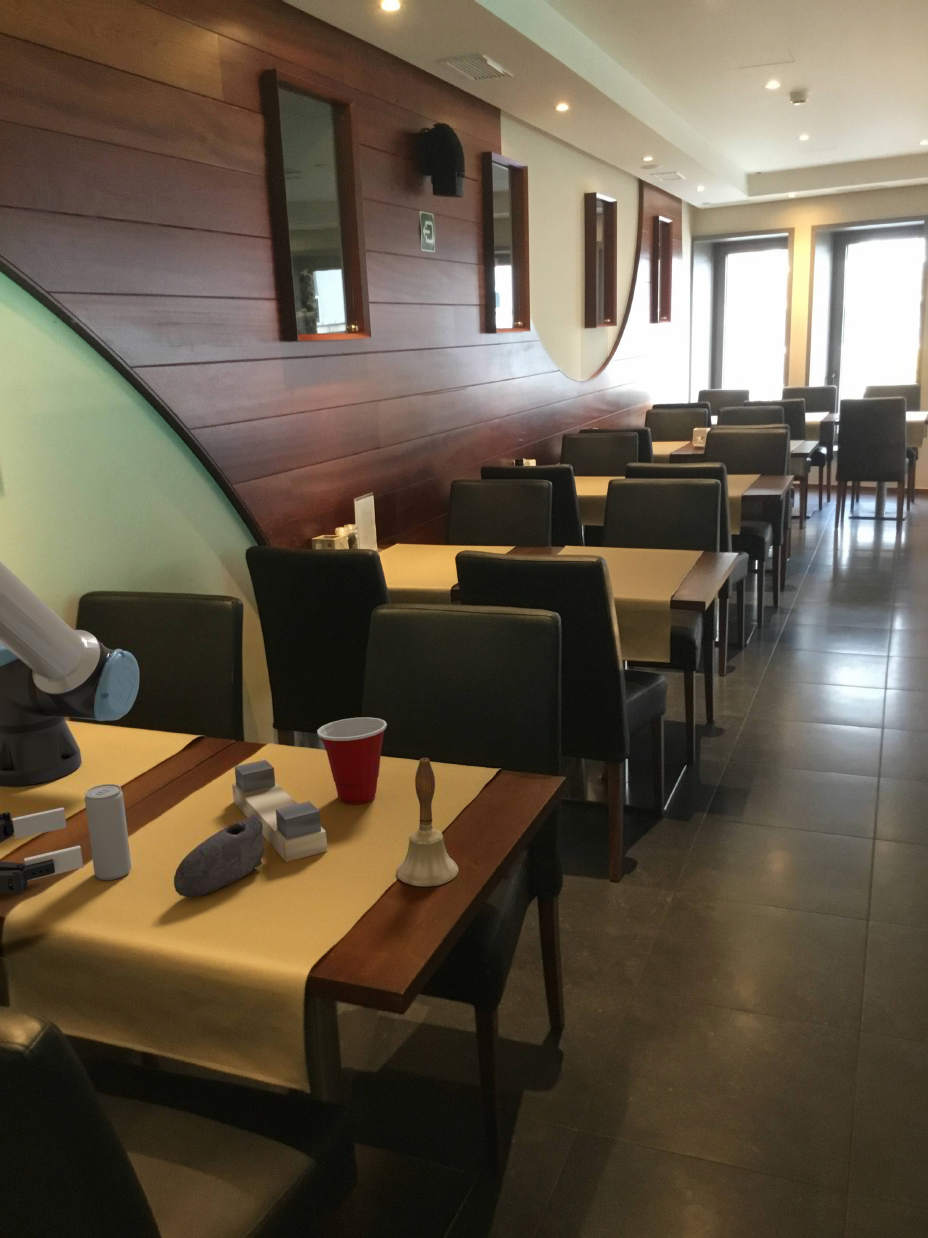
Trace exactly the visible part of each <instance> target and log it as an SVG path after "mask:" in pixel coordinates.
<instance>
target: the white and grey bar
mask: <svg viewBox="0 0 928 1238" xmlns="http://www.w3.org/2000/svg"><path fill="white" fill-rule="evenodd" d="M234 775H235V783H232V784H231V787H232V796H233V797H232V799H233V803H234V804H235V805H236V806H237V807H238V809H239V810H240V811H241V812H242V813H243V814H244V815H245V817H246V818H249V817H251V816H255V817H256V818H257V819H259V820H261V822H262V826H263V827H262V828H263V830H262V834H263V838H264V839H265V840H266V841H267V842H268V843H269V844H270V845H271V846H272V847H273V849H274V850H276V851H275V852H277V853H278V854H279V856H280V857H281V859H283V860H284V862H286V863H288V862H289V863H290V862H292V861H296V860H299V859H304V858H307V857H311V856H314V855H319V854H322V853H325V852H328V841H327V832H326V830H325V829H324V828H323V827H322V821H321V811H320V810H319V809H318V808H317V807H316V806H315V805H314V804H313V803H312V802H311V801H310V800H307V801H305V802H304V801H303V802H300V803H298V802H296V801H295V799H293V797H291V796H290V794H288V792H286V790H284V788H282V787H281V786H280V785H279V784H278V783H277V782H276V778H275V777H276V776H275V768H274V766H272V765H271V763H270V762H269V761H267V760H266V759H261V760H258V761H253V762H248V763H245V764H240V765H236V766H234Z"/></svg>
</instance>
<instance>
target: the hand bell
mask: <svg viewBox="0 0 928 1238" xmlns="http://www.w3.org/2000/svg"><path fill="white" fill-rule="evenodd" d="M414 781H415V782H414V783H415V784H414V785H415V792H416V796H417V799H418V802H419V803H418V804H419V819H418V821H419V823H418V824H419V826H418V829H415V830H413V831H412V832H411V833H410V835H409V838H408V846H407V851H406V855H405V857H404V859H403V860H402V861H401V862H400V863H399V865H398V867H396V871H395V872H396V876H397V877H396V878H398V880H400V881H401V882H402V883H404V884H407V885H411V886H413V887H414V886H415V887H435V886H440V885H444V884H446V883H448V882H451V881H452V880H454V879H455V878H456V877H457V876H458V874H459V871H460V870H459V865H457V863H456V861H454V860H453V858H451V857H450V855H449V854H448V853H447V849H446V846H445V841H444V835H443V833H442V832H441V831H440V830H439V829H436V828H433V812H432V803H433V798H434V794H435V788H436V777H435V772H434V771H433V767H432V765H431V761H430V758H428V757H422V758H420V759H419V763H418V766H417V770H416V772H415V779H414Z"/></svg>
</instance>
